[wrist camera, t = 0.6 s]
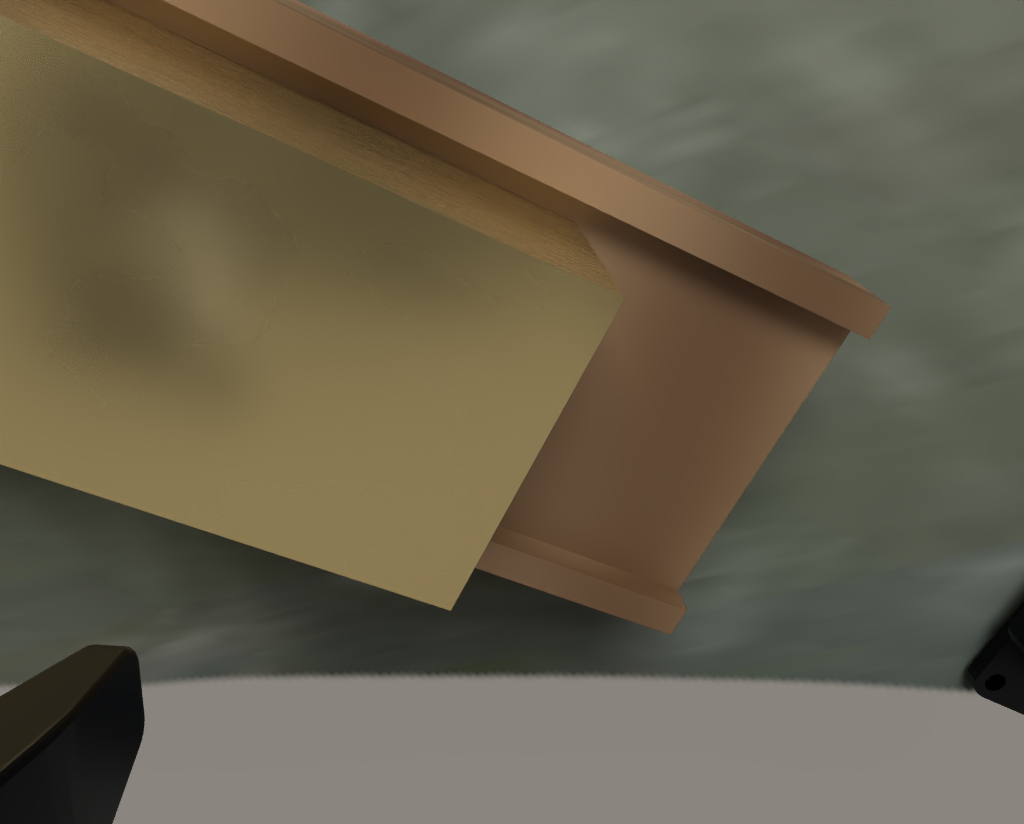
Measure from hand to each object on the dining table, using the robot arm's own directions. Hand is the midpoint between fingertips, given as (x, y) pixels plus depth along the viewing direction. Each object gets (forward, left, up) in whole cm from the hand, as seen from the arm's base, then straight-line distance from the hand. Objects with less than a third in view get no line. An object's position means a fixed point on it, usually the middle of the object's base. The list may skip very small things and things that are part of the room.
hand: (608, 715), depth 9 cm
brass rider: (+5, 0, -7) cm, 9 cm away
